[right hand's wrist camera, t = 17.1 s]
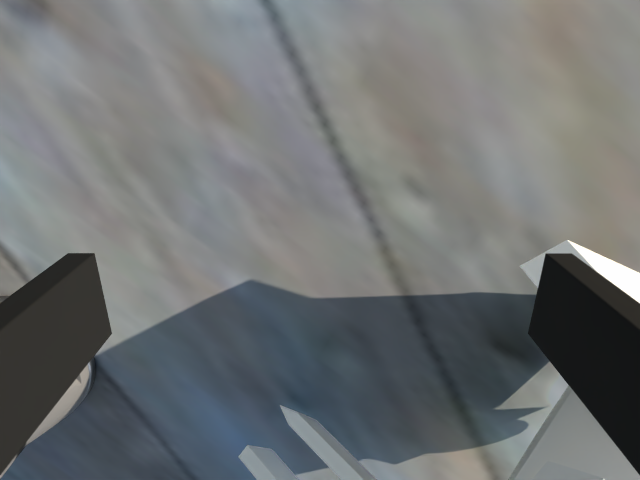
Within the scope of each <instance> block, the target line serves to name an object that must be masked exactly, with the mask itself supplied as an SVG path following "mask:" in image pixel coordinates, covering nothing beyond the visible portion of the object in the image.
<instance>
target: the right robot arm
mask: <svg viewBox="0 0 640 480" xmlns="http://www.w3.org/2000/svg"><path fill="white" fill-rule="evenodd" d="M111 334H112V332H111V327H110V323H109V318H108V313H107V309H106V304H105V300H104V295H103V290H102V286H101V281H100V277H99V272H98V267H97V263H96V258H95V254H94V253H68V254H67V255H65V256H64V257H63V258H61V259H60V260H58V261H57V262H56V263H54V264H53V265H52V266H50V267H49V268H48V269H46V270H45V271H43V272H42V273H41V274H39V275H38V276H37V277H35V278H34V279H33V280H31V281H30V282H28V283H27V284H26V285H24V286H23V287H22V288H20V289H19V290H18V291H16V292H15V293H13V294H12V295H11V296H0V479H1V477H2V476H3V475H4V474H5V472H6V471H7V470H8V468H9V467H10V466H11V464H12V463H13V462H14V460H15V459H16V458H17V456H18V455H19V454H20V453H21V451H22V450H23V449H24V448H25V446H26V445H28V444H29V443H31V442H32V441H33V440H35V439H36V438H38V437H39V436H41V435H42V434H43V433H45V432H46V431H48V430H49V429H50V428H52V427H53V426H55V425H56V424H58V423H59V422H60V421H62V420H63V419H65V418H66V417H67V416H69V415H70V414H71V413H72V412H73V411H74V410H75V409H76V408H77V407H78V406H79V405H80V404H81V403H82V401H83V400H84V399H85V397H86V396H87V394H88V393H89V391H90V390H91V388H92V386H93V383H94V380H95V374H96V367H95V360H94V356H95V354H96V353H97V352H98V350H99V349H100V348H101V347H102V345H103V344H104V343H105V342H106V340H107V339H108V338H109V336H110V335H111ZM528 334H529V335H530V336H531V338H532V339H533V340H534V342H535V343H536V344H537V345H538V347H539V348H540V349H541V350H542V352H543V353H544V354H545V356H546V357H547V358H548V359H549V361H550V362H551V363H552V364H553V366H554V367H555V368H556V370H557V371H558V372H559V373H560V375H561V376H562V377H563V378H564V380H565V381H566V382H567V384H568V385H569V386H570V387H571V389H572V390H573V391H574V392H575V394H576V395H577V396H578V398H579V399H580V400H581V401H582V403H583V404H584V405H585V406H586V408H587V409H588V410H589V411H590V413H591V414H592V415H593V417H594V418H595V419H596V420H597V422H598V423H599V424H600V425H601V427H602V428H603V429H604V431H605V432H606V433H607V434H608V436H609V437H610V438H611V439H612V441H613V442H614V443H615V445H616V446H617V447H618V448H619V450H620V451H621V452H622V453H623V455H624V456H625V457H626V459H627V460H628V461H629V462H630V464H631V465H632V466H633V467H634V469H635V470H636V471H637V473H638V474H639V475H640V303H639V302H637V301H636V300H635V299H633V298H632V297H631V296H629V295H628V294H627V293H625V292H624V291H622V290H621V289H620V288H618V287H617V286H616V285H614V284H613V283H612V282H610V281H609V280H607V279H606V278H605V277H603V276H602V275H601V274H599V273H598V272H597V271H595V270H594V269H592V268H591V267H590V266H588V265H587V264H586V263H584V262H583V261H582V260H580V259H579V258H577V257H576V256H575V255H573V254H572V253H546V254H545V258H544V263H543V267H542V272H541V277H540V281H539V286H538V290H537V295H536V300H535V304H534V309H533V313H532V318H531V323H530V327H529V332H528Z"/></svg>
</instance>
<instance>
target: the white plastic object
mask: <svg viewBox="0 0 640 480" xmlns="http://www.w3.org/2000/svg"><path fill="white" fill-rule="evenodd" d="M546 253H572V254H573V255H575V256H576V257H577V258H579V259H580V260H582V261H583V262H584V263H586V264H587V265H588V266H590V267H591V268H592V269H594V270H595V271H597V272H598V273H599V274H601V275H602V276H603V277H605V278H606V279H607V280H609V281H610V282H612V283H613V284H614V285H616V286H617V287H618V288H620V289H621V290H622V291H624V292H625V293H627V294H628V295H629V296H631V297H632V298H633V299H635V300H636V301H637V302H639V303H640V273H638V272H636V271H634V270H632V269H630V268H627V267H625V266H623V265H621V264H619V263H616V262H614V261H612V260H610V259H608V258H606V257H603V256H601V255H599V254H597V253H595V252H592V251H590V250H588V249H586V248H584V247H582V246H579V245H577V244H575V243H573V242H571V241H569V240H566V241H564V242H562V243H560V244H558V245H557V246H555V247H553V248H551V249H549V250H548V251H546V252H544V253H542V254H540V255H538V256H537V257H535V258H533V259H531V260H529V261H527V262H526V263H524V264H522V265H520V267H521V268H522V269H523V271H524V272H525V273H526V274H527V276H528V277H529V278H530V279H531V280H532V282H533V283H534V284H535V285H536V286H537V288H538V286H539V281H540V277H541V272H542V267H543V263H544V258H545V254H546ZM280 407H281V409H282V412H283V414H284V416H285V418H286V420H287V423H288V425H289V426H290V427H291V428H292V429H293V430H294V431H295V432H296V433H297V434H298V435H299V436H300V437H301V438H302V439H303V440H304V441H305V442H306V444H307V445H308V446H309V447H310V448H311V449H312V450H313V451H314V452H315V453H316V454H317V455H318V456H319V457H320V458H321V459H322V460H323V461H324V462H325V463H326V465H327V466H328V467H329V468H330V469H331V470H332V471H333V472H334V473H335V474H336V475H337V476H338V477H339V478H340V479H341V480H377V479H376V478H375V477H374V476H373V475H372V474H371V473H370V472H369V471H368V470H367V469H366V468H365V467H364V466H363V465H362V464H361V463H360V462H359V461H358V460H357V459H356V458H355V457H354V456H353V455H352V454H351V453H350V452H349V451H348V450H347V449H346V448H345V447H344V446H343V445H342V444H341V443H340V442H338V441H337V440H336V439H335V438H334V437H333V436H332V435H331V434H330V433H329V432H328V431H327V430H326V429H325V428H324V427H323V426H322V425H321V424H320V423H319V422H318V421H317V420H316V419H313V418H311V417H309V416H307V415H304V414H302V413H300V412H297V411H295V410H292V409H289V408H287V407H284V406H281V405H280ZM238 457H239V458H240V460H241V461H242V462H243V463H244V465H245V466H246V467H247V468H248V470H249V471H250V472H251V473H252V474H253V476H254V477H255V478H256V479H257V480H299V479H298V478H297V477H296V475H295V474H294V473H293V472H292V471H291V470H290V469H289V467H288V466H287V465H286V464H285V463H284V462H283V461H282V460H281V458H280V457H279V456H278V455H277V454H276V453H275V452H274V451H273V449H270V448H264V447H257V446H251V445H247V446H246V448H245V449H244V450H243V451H242V453H241V454H240V455H239V456H238ZM508 480H640V475H639V474H638V473H637V471H636V470H635V469H634V467H633V466H632V465H631V464H630V462H629V461H628V460H627V459H626V457H625V456H624V455H623V453H622V452H621V451H620V450H619V448H618V447H617V446H616V445H615V443H614V442H613V441H612V439H611V438H610V437H609V436H608V434H607V433H606V432H605V431H604V429H603V428H602V427H601V425H600V424H599V423H598V422H597V420H596V419H595V418H594V417H593V415H592V414H591V413H590V411H589V410H588V409H587V408H586V406H585V405H584V404H583V403H582V401H581V400H580V399H579V398H578V396H577V395H576V394H575V392H574V391H573V390H572V389H571V387H570V386H568V387H567V389H566V390H565V392H564V393H563V395H562V396H561V398H560V399H559V400H558V402H557V403H556V405H555V406H554V408H553V409H552V411H551V413H550V414H549V416H548V417H547V419H546V420H545V422H544V423H543V425H542V426H541V428H540V429H539V431H538V433H537V434H536V436H535V437H534V439H533V440H532V442H531V444H530V445H529V447H528V448H527V450H526V452H525V453H524V455H523V457H522V458H521V460H520V461H519V463H518V465H517V466H516V468H515V469H514V471H513V473H512V474H511V476H510V477H509V479H508Z"/></svg>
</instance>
